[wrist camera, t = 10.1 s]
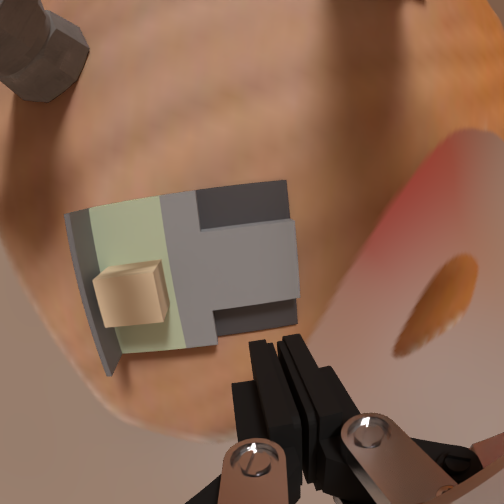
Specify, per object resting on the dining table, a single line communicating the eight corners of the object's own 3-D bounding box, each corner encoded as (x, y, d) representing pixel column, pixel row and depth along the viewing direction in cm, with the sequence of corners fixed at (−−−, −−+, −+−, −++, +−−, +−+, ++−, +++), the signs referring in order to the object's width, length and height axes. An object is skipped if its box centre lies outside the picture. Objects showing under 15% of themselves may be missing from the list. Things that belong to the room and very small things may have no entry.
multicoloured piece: (285, 179, 28) (304, 179, 22) (296, 322, 31) (314, 351, 25) (91, 207, 26) (63, 214, 20) (122, 344, 29) (106, 376, 23)
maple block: (161, 259, 26) (152, 272, 22) (169, 302, 27) (163, 322, 23) (108, 266, 25) (92, 280, 21) (118, 308, 26) (105, 327, 22)
